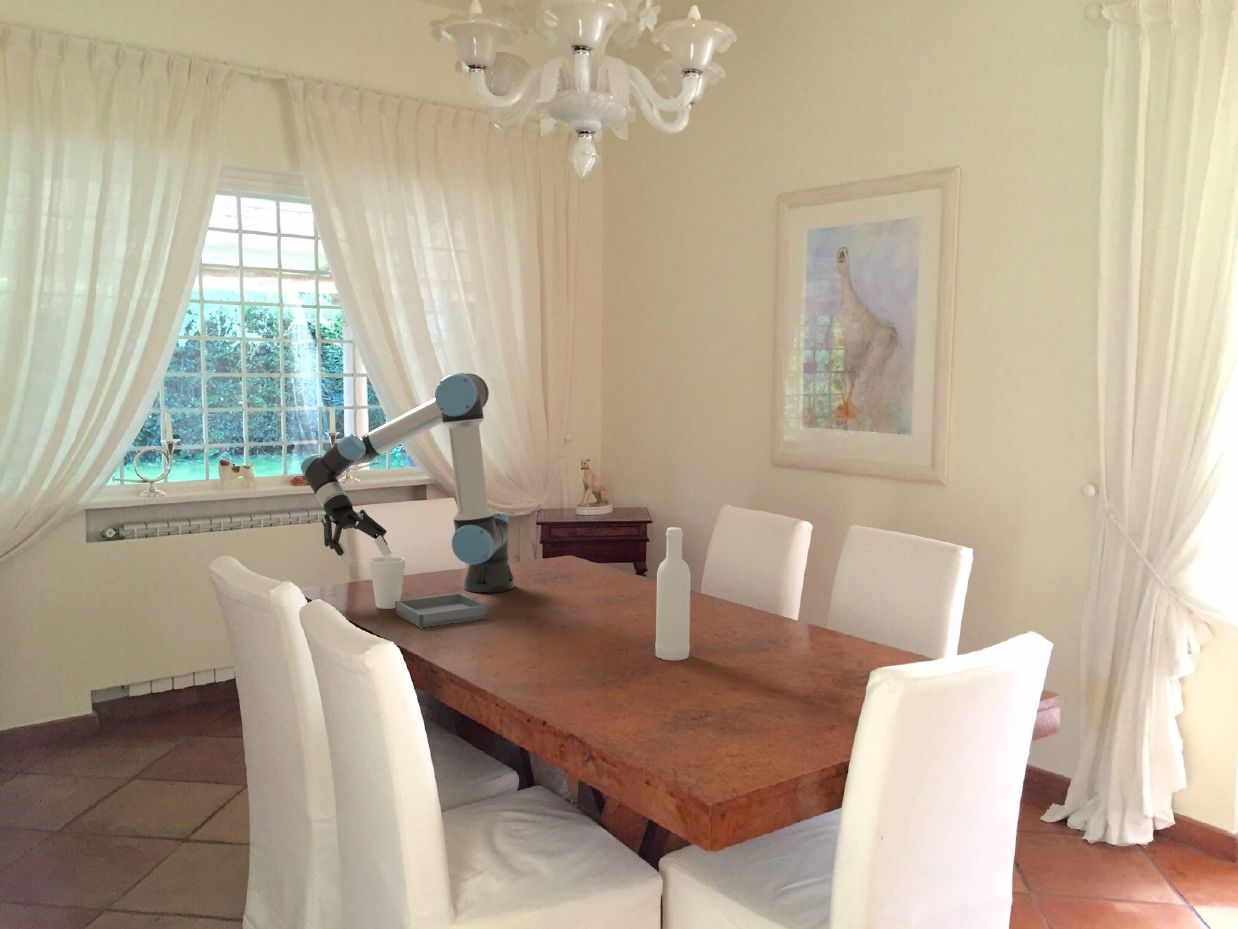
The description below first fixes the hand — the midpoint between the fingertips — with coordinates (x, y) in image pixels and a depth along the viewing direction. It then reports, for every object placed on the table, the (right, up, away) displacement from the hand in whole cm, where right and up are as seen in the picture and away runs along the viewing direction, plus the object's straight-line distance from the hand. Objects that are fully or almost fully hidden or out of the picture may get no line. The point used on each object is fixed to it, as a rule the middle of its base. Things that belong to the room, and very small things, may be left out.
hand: (369, 559), depth 268 cm
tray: (+22, -14, -13) cm, 29 cm away
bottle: (+82, -18, -46) cm, 96 cm away
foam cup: (+6, -13, -2) cm, 14 cm away
